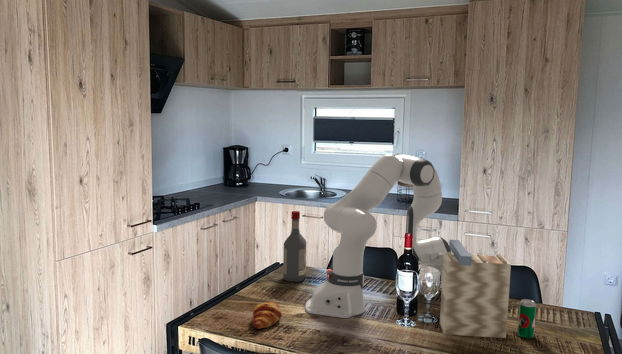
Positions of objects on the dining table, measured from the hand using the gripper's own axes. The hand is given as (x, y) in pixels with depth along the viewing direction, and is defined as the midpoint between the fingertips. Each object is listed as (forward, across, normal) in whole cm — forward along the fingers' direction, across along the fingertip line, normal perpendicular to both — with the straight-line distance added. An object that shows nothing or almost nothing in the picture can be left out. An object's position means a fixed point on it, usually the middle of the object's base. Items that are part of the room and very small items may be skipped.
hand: (450, 255), depth 187 cm
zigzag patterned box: (+6, +5, +27) cm, 28 cm away
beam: (+16, 0, +4) cm, 17 cm away
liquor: (-33, -62, +5) cm, 70 cm away
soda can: (+8, +22, +28) cm, 37 cm away
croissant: (+7, -65, +29) cm, 71 cm away
